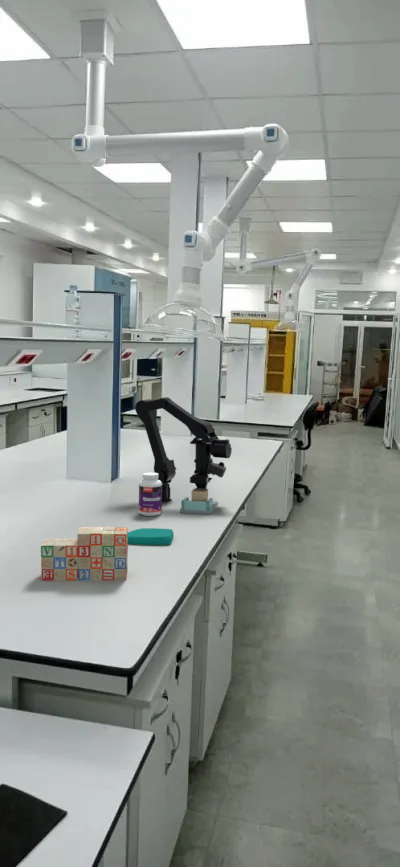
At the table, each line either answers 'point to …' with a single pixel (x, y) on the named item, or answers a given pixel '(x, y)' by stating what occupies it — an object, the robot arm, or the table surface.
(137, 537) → the teal flat block
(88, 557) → the stack of blocks
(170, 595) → the table surface
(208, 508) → the dock
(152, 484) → the pill bottle
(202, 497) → the cardboard box with slot
